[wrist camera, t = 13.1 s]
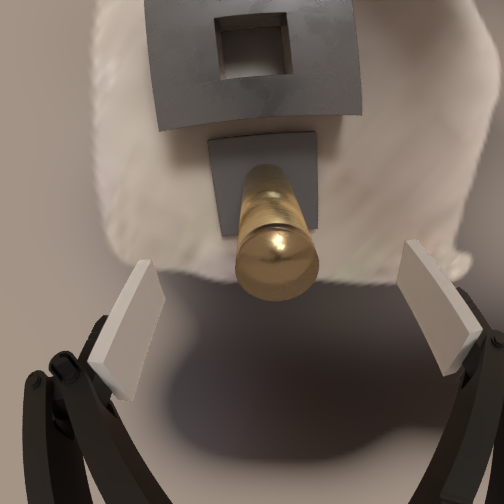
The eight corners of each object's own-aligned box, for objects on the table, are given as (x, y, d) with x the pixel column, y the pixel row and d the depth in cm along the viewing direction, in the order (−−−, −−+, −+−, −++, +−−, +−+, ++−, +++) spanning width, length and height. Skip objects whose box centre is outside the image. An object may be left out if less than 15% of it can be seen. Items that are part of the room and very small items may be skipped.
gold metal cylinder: (241, 165, 26) (229, 235, 14) (287, 162, 26) (320, 228, 14) (245, 208, 28) (240, 304, 16) (290, 205, 28) (317, 297, 16)
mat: (208, 139, 25) (207, 141, 25) (314, 131, 25) (316, 132, 24) (222, 232, 30) (222, 236, 30) (316, 225, 30) (317, 228, 29)
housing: (162, 14, 18) (144, 0, 14) (332, -1, 17) (348, -17, 13) (175, 124, 24) (159, 131, 20) (343, 111, 24) (362, 115, 19)
